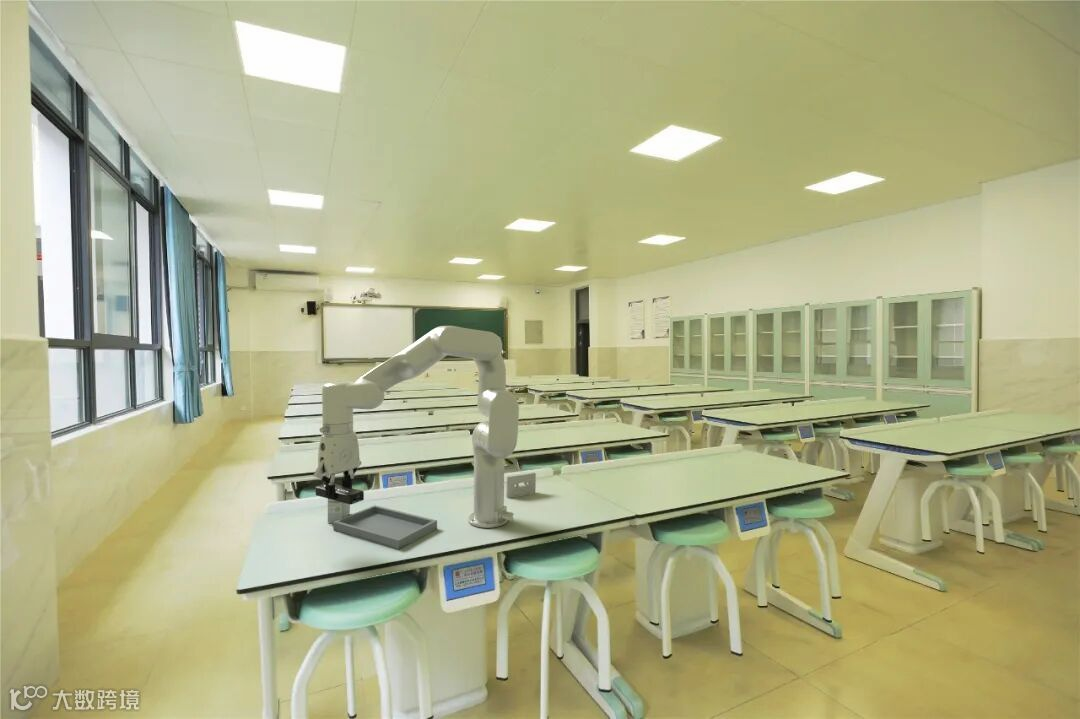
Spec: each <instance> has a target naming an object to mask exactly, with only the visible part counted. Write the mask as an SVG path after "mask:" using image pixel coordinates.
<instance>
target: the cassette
mask: <svg viewBox="0 0 1080 719" xmlns="http://www.w3.org/2000/svg"><path fill="white" fill-rule="evenodd" d="M536 476H537V474H536V472H528V473H523V474H514V475H509V476H508V475H507V476H506V478H505V480H506V483H505V485H506V486H505V497H506V498H507V499H509V498H518V497H521V496H522V497H523V496H527V495H532V494H535V493H536V483H537V482H536V481H537V479H536V478H537V477H536ZM521 483H523V484H521ZM520 484H521V485H520Z"/></svg>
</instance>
